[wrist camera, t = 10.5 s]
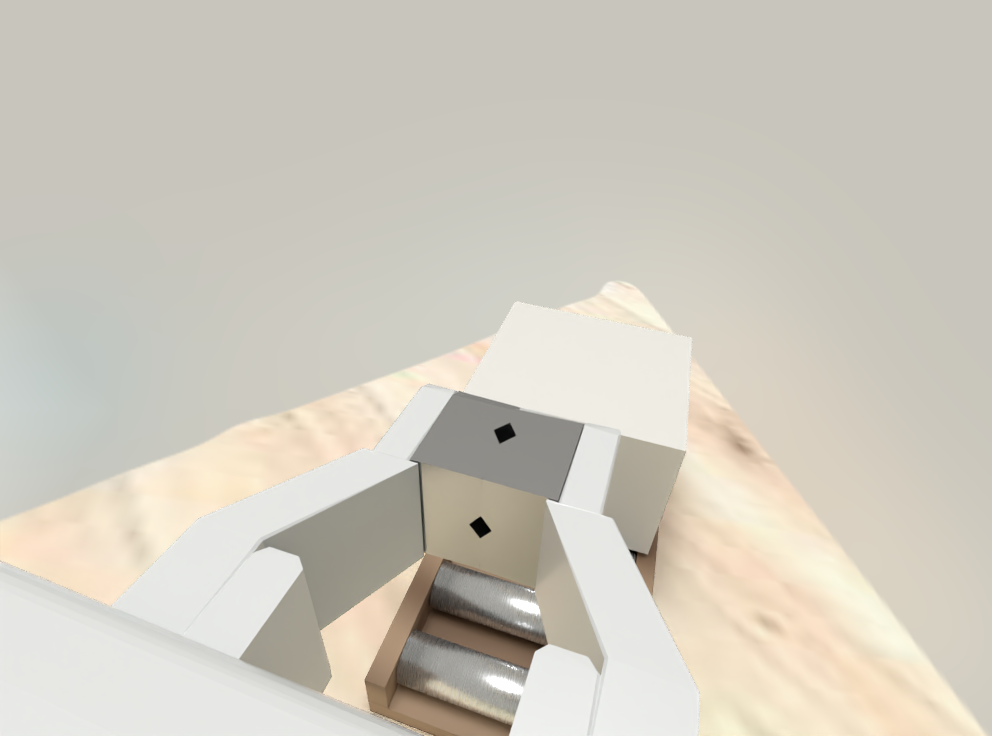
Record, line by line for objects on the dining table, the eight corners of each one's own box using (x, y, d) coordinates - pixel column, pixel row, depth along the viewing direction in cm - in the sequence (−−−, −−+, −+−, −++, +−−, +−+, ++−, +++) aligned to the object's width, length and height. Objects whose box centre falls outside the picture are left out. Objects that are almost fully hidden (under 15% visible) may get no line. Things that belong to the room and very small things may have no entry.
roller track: (619, 806, 24) (656, 744, 20) (370, 710, 27) (356, 637, 22) (657, 459, 41) (681, 385, 37) (502, 419, 44) (509, 347, 39)
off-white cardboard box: (647, 554, 30) (686, 451, 26) (458, 499, 33) (461, 395, 28) (660, 434, 38) (692, 337, 33) (507, 396, 40) (515, 301, 36)
